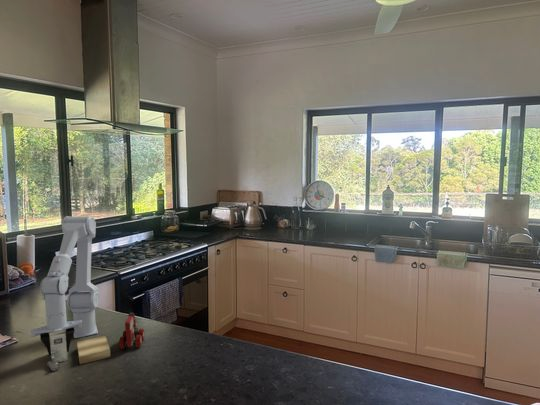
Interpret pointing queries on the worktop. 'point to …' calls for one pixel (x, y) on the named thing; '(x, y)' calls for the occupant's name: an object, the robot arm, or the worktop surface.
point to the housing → (58, 348)
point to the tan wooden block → (93, 349)
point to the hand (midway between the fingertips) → (59, 352)
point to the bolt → (53, 365)
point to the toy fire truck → (131, 333)
